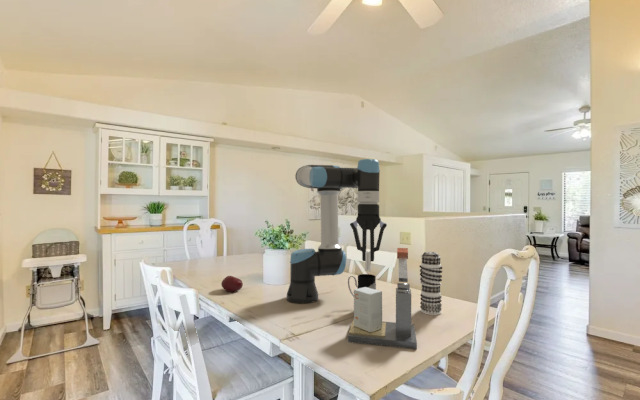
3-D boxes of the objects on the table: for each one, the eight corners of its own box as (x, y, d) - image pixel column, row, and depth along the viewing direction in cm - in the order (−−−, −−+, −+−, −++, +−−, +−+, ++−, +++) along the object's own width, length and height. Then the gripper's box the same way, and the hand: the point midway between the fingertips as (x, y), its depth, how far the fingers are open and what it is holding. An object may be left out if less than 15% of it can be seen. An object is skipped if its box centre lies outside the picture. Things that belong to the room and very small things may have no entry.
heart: (226, 293, 159) (243, 293, 166) (227, 278, 160) (245, 277, 167) (215, 289, 168) (233, 288, 175) (217, 274, 169) (234, 274, 176)
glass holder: (369, 316, 131) (369, 279, 131) (342, 308, 141) (342, 274, 141) (380, 311, 137) (381, 275, 138) (354, 303, 147) (354, 271, 147)
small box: (382, 328, 112) (382, 291, 113) (370, 333, 108) (370, 294, 109) (365, 321, 119) (365, 286, 119) (353, 326, 115) (353, 289, 115)
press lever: (397, 290, 111) (397, 282, 109) (397, 255, 130) (397, 247, 129) (409, 291, 110) (409, 283, 108) (407, 255, 129) (407, 248, 128)
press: (347, 342, 107) (347, 293, 107) (353, 324, 123) (354, 282, 123) (416, 349, 102) (416, 298, 102) (414, 329, 118) (414, 285, 118)
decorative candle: (439, 316, 131) (440, 255, 131) (416, 312, 136) (417, 253, 136) (444, 310, 139) (444, 252, 139) (422, 306, 144) (422, 250, 144)
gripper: (348, 203, 112) (347, 271, 112) (387, 203, 109) (387, 273, 108) (351, 203, 119) (350, 267, 119) (387, 203, 116) (387, 269, 116)
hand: (368, 270), depth 114 cm, fingers closed
